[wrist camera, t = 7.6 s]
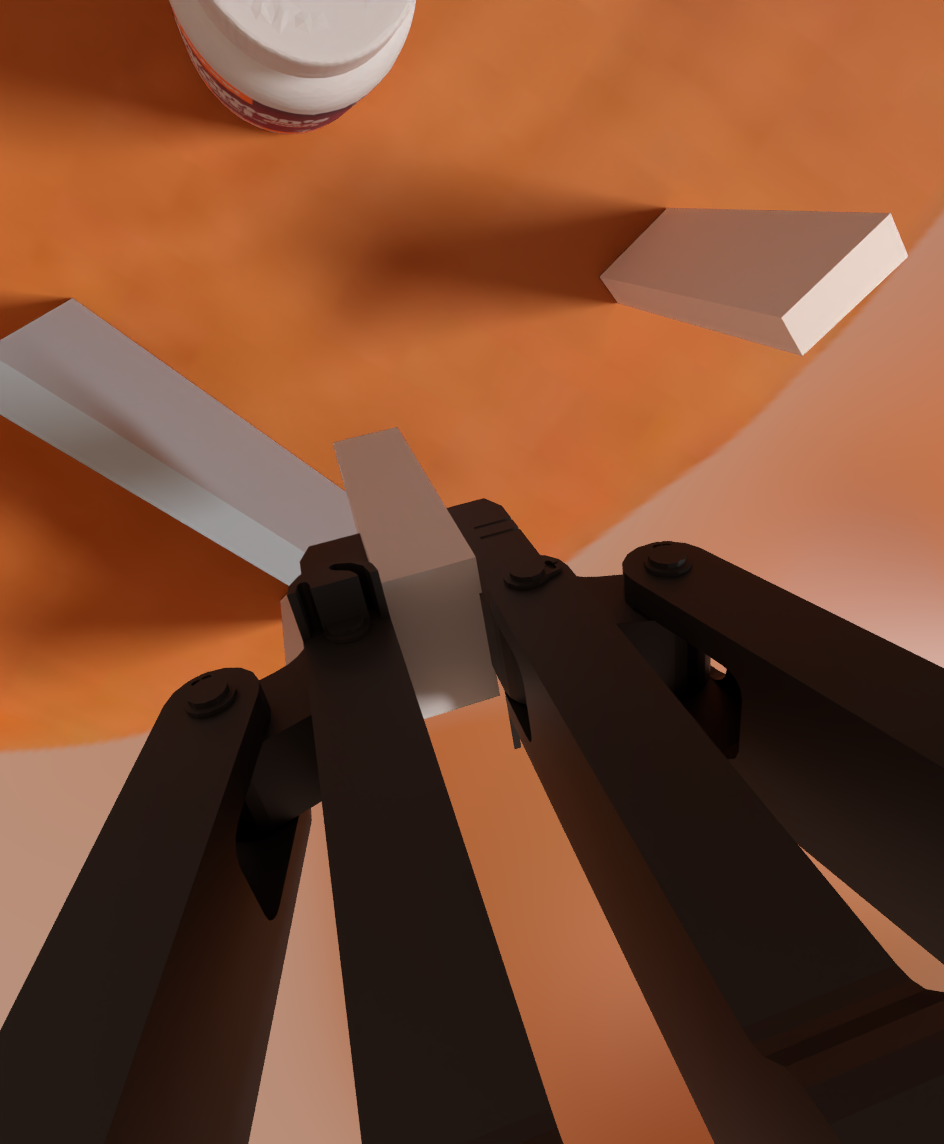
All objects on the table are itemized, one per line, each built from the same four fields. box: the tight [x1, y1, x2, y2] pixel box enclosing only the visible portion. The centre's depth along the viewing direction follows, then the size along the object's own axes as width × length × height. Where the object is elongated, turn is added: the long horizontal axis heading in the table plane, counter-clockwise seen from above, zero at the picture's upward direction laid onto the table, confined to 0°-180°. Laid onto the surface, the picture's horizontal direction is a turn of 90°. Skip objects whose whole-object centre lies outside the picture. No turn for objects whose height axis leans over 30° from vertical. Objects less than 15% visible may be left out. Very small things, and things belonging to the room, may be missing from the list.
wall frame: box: [280, 208, 908, 665], centre depth 26 cm, size 24×2×12 cm, turn 132°
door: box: [0, 298, 357, 586], centre depth 24 cm, size 15×3×11 cm, turn 47°
